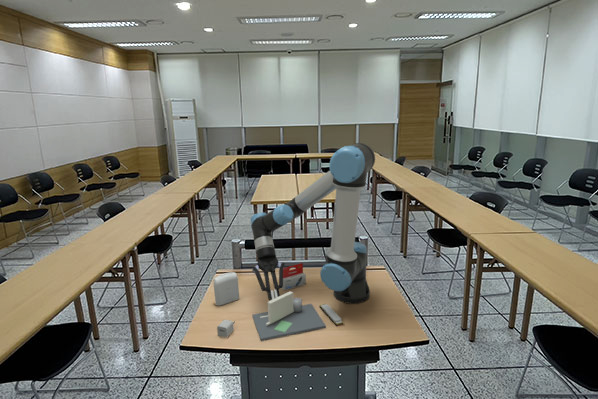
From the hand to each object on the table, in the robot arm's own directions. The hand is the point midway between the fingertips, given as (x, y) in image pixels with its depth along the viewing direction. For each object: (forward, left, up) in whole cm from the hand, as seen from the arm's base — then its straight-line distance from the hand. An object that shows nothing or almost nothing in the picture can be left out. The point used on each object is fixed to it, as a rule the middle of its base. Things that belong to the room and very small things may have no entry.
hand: (276, 307), depth 141 cm
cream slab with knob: (-3, +1, -3) cm, 5 cm away
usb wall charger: (+19, +2, -5) cm, 19 cm away
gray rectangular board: (-4, +3, -5) cm, 7 cm away
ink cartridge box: (-14, -23, -5) cm, 27 cm away
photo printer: (+16, -19, -5) cm, 26 cm away
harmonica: (-20, +4, -6) cm, 22 cm away
